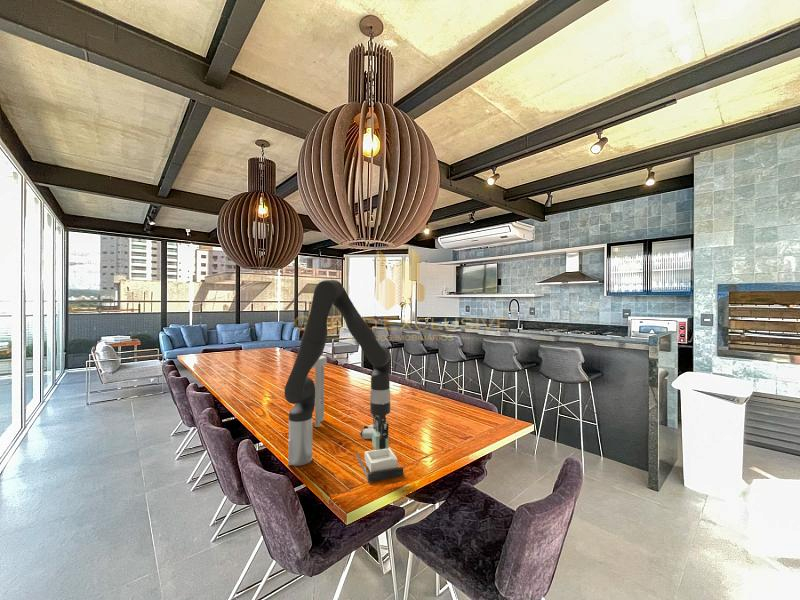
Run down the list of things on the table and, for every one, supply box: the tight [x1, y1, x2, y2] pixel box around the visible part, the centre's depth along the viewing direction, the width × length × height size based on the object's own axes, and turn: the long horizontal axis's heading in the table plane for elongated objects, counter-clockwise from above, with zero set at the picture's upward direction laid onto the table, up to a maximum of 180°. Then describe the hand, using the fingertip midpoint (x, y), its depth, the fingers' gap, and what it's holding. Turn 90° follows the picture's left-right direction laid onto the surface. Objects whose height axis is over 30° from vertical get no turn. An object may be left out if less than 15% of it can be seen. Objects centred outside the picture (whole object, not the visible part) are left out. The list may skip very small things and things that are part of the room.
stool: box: [294, 355, 328, 428], centre depth 176 cm, size 16×16×35 cm
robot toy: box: [358, 424, 375, 440], centre depth 159 cm, size 12×4×15 cm
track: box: [355, 453, 404, 483], centre depth 129 cm, size 13×22×4 cm, turn 19°
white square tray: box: [364, 447, 399, 472], centre depth 125 cm, size 10×10×6 cm
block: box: [371, 431, 390, 450], centre depth 125 cm, size 5×5×5 cm
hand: (380, 445), depth 125 cm, fingers closed on block, 5 cm apart
